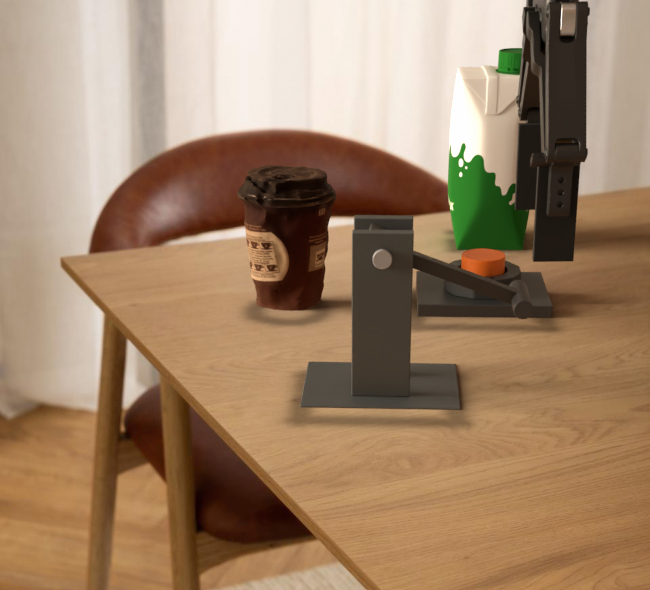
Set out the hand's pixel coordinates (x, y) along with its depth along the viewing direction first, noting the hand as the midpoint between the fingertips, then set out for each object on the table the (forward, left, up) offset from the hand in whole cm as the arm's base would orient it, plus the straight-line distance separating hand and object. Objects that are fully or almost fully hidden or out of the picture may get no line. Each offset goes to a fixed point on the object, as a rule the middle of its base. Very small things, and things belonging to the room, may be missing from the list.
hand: (541, 233), depth 87 cm
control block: (+3, -20, -13) cm, 24 cm away
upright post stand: (+12, +1, -13) cm, 17 cm away
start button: (+3, -20, -9) cm, 22 cm away
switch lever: (+7, +1, -4) cm, 8 cm away
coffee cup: (+21, -19, -13) cm, 31 cm away
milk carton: (+1, -43, -13) cm, 45 cm away
